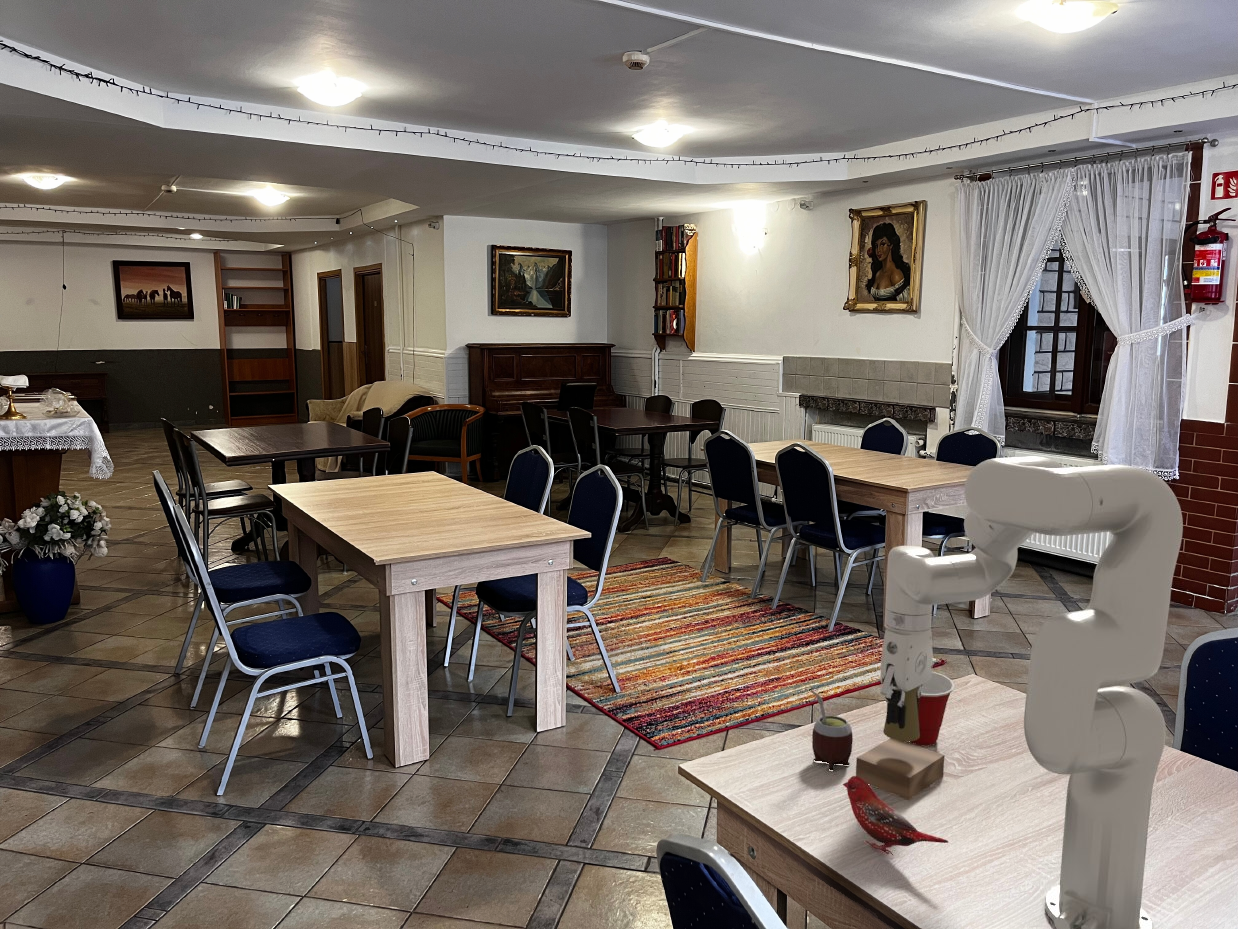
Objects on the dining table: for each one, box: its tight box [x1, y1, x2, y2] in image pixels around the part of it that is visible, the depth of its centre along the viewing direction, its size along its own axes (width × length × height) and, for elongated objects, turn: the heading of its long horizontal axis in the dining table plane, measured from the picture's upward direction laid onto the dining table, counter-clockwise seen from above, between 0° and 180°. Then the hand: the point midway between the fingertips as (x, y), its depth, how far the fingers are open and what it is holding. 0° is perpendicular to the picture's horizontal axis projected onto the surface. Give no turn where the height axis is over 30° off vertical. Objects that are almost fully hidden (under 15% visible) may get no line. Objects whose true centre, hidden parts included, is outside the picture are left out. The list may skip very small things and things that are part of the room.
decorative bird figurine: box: [842, 775, 949, 856], centre depth 135 cm, size 3×18×10 cm, turn 41°
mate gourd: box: [810, 690, 854, 771], centre depth 164 cm, size 8×8×15 cm
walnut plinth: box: [855, 738, 945, 801], centre depth 160 cm, size 12×10×4 cm
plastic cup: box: [909, 671, 955, 747], centre depth 175 cm, size 11×11×12 cm
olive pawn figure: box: [883, 682, 920, 742], centre depth 158 cm, size 6×6×11 cm
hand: (902, 721), depth 159 cm, fingers closed on olive pawn figure, 3 cm apart
